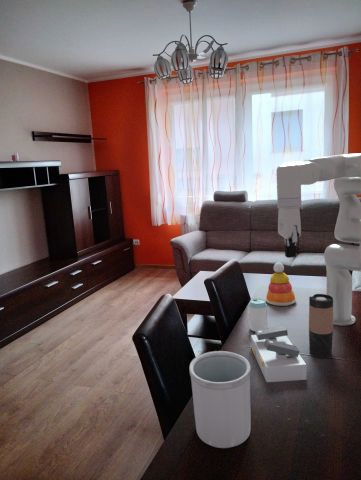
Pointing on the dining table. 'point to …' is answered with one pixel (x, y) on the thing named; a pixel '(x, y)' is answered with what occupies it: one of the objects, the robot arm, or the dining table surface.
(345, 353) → the dining table surface
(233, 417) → the utensil holder
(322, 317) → the travel mug
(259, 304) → the can
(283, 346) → the block
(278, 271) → the stacking toy
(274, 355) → the switch housing
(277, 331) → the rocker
